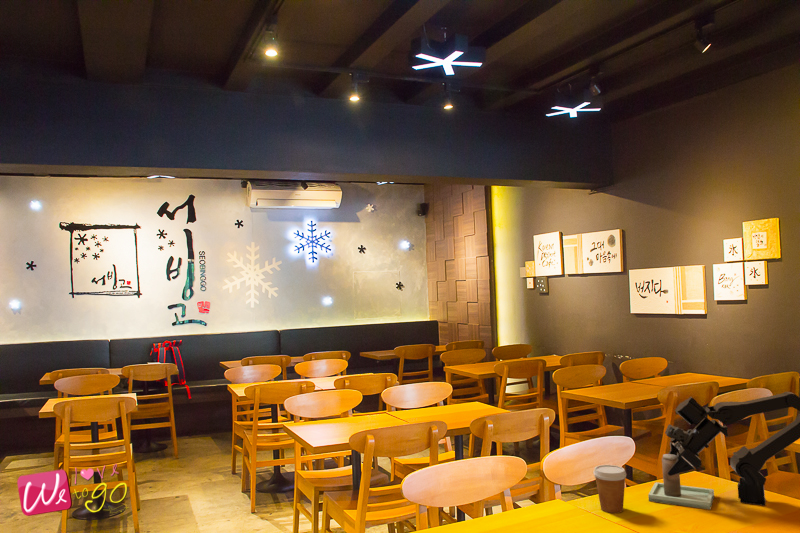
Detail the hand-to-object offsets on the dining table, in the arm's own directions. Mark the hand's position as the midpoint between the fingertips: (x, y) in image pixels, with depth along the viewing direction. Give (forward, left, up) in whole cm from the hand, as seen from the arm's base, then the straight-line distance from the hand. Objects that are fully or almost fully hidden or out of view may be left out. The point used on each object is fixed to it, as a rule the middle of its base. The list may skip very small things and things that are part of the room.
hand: (666, 470), depth 186 cm
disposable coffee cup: (+13, +17, -9) cm, 23 cm away
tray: (-4, -1, -9) cm, 9 cm away
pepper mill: (-1, 0, -7) cm, 8 cm away
